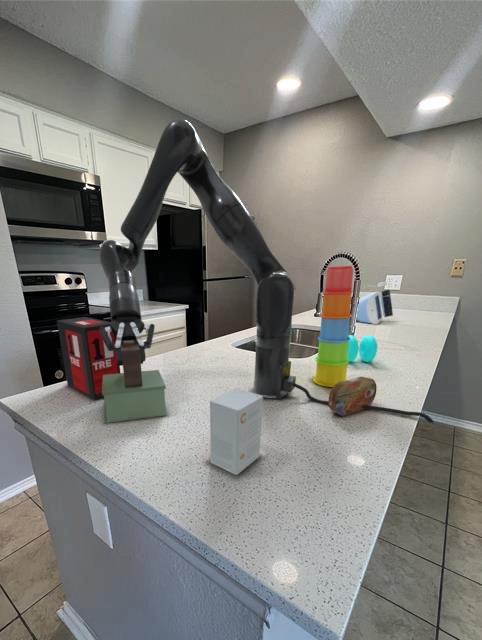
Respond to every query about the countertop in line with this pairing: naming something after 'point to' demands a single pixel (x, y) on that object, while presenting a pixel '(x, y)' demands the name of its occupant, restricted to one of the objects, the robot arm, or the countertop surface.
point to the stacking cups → (334, 327)
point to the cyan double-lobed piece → (362, 348)
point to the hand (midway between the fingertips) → (131, 362)
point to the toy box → (133, 397)
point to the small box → (235, 429)
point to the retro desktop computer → (374, 306)
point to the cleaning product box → (86, 354)
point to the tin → (352, 395)
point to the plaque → (131, 363)
